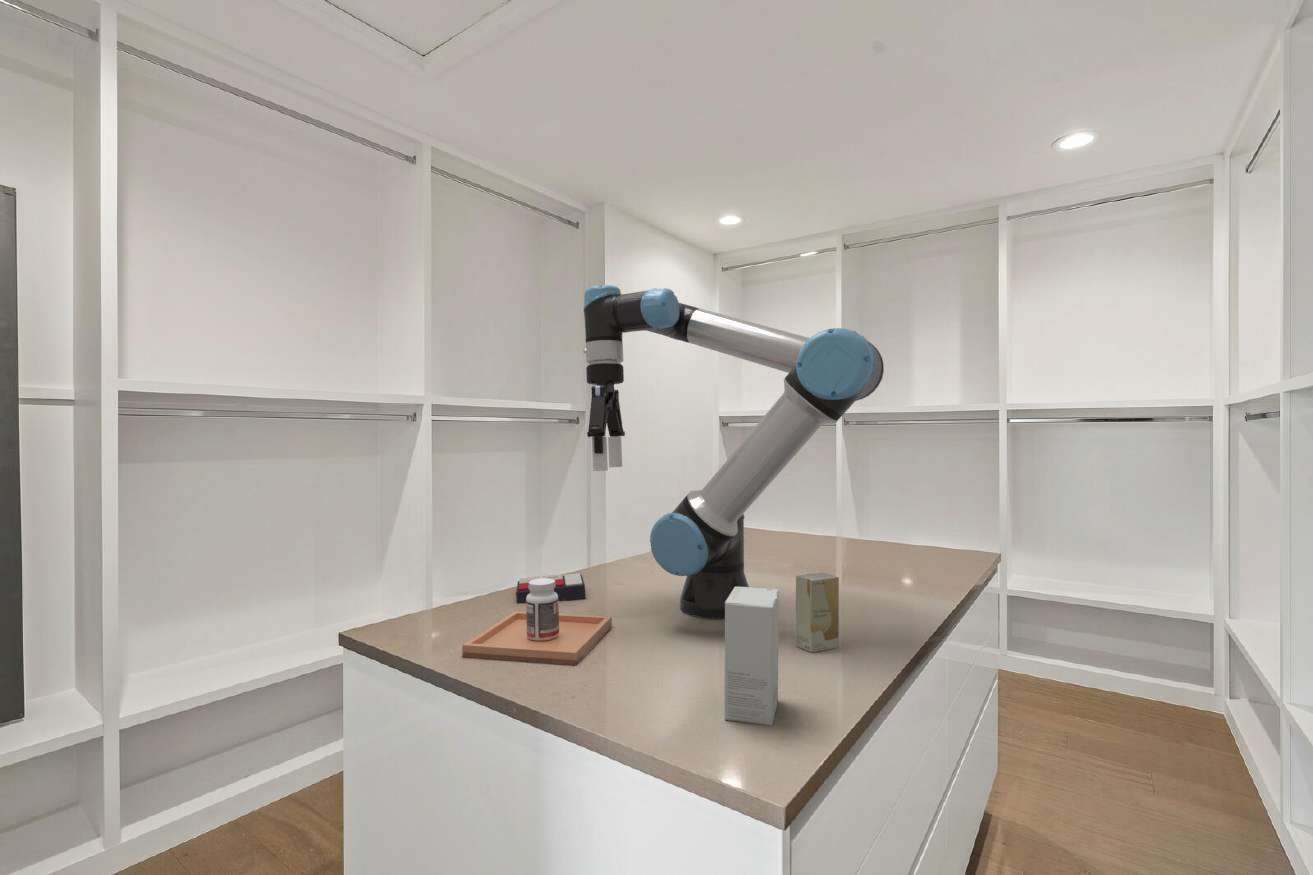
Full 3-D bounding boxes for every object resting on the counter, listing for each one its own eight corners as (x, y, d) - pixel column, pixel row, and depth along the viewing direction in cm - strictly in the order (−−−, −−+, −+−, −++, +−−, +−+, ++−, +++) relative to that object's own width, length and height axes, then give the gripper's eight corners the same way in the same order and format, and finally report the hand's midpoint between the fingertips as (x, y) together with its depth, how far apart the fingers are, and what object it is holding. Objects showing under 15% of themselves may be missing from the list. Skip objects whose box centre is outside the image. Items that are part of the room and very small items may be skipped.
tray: (611, 627, 121) (611, 616, 121) (575, 665, 102) (575, 652, 102) (514, 621, 126) (514, 611, 126) (462, 657, 106) (462, 645, 106)
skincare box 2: (811, 654, 106) (811, 580, 106) (794, 646, 110) (793, 575, 109) (840, 647, 109) (840, 576, 108) (823, 640, 112) (822, 571, 112)
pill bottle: (562, 631, 116) (562, 577, 116) (554, 642, 111) (553, 585, 110) (532, 631, 117) (531, 577, 117) (522, 641, 111) (521, 584, 111)
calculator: (517, 577, 150) (581, 570, 152) (518, 595, 150) (582, 588, 152) (515, 588, 139) (584, 581, 141) (517, 608, 139) (585, 600, 142)
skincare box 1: (734, 695, 90) (733, 585, 90) (781, 700, 88) (780, 588, 88) (723, 721, 82) (721, 600, 81) (775, 728, 80) (773, 604, 80)
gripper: (601, 371, 142) (604, 466, 142) (569, 357, 117) (573, 473, 117) (634, 369, 141) (637, 465, 141) (609, 355, 116) (613, 472, 116)
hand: (608, 469), depth 129 cm, fingers open, 13 cm apart
